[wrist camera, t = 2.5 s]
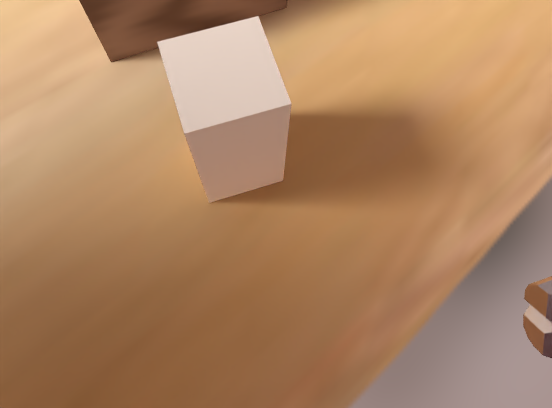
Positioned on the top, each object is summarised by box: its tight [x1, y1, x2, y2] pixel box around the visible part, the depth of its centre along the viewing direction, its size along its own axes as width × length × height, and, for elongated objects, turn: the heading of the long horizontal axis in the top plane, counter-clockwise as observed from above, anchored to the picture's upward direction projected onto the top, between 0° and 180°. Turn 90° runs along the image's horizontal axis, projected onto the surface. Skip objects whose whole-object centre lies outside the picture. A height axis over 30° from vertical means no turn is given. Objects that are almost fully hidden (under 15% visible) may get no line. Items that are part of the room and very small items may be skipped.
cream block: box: [157, 16, 291, 203], centre depth 24 cm, size 4×4×9 cm
